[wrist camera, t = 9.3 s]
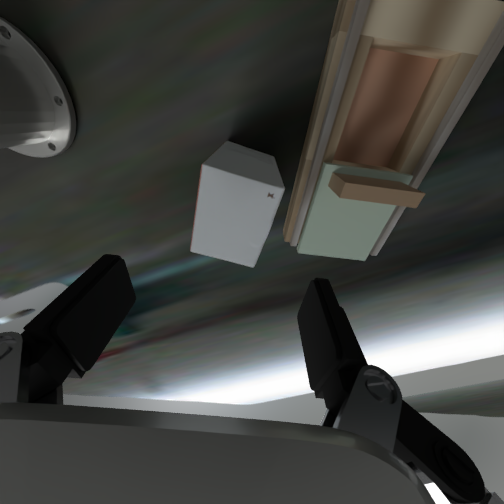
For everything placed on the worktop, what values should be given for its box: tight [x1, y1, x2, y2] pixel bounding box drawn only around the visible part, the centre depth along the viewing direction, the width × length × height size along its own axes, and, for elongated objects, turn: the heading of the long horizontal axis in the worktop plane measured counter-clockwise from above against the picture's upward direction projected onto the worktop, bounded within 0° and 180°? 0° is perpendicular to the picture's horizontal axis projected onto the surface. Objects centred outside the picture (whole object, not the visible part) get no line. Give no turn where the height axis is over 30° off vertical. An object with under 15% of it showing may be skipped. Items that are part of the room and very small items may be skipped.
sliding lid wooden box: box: [283, 0, 504, 256], centre depth 23 cm, size 14×24×4 cm, turn 173°
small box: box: [190, 141, 285, 267], centre depth 21 cm, size 8×6×13 cm
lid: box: [297, 162, 425, 261], centre depth 24 cm, size 10×12×5 cm
